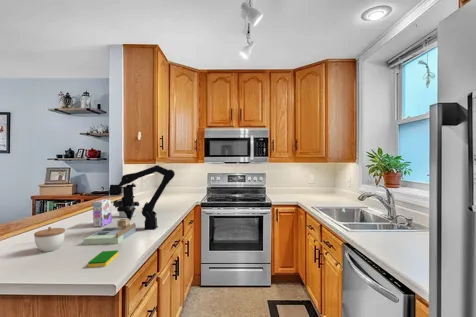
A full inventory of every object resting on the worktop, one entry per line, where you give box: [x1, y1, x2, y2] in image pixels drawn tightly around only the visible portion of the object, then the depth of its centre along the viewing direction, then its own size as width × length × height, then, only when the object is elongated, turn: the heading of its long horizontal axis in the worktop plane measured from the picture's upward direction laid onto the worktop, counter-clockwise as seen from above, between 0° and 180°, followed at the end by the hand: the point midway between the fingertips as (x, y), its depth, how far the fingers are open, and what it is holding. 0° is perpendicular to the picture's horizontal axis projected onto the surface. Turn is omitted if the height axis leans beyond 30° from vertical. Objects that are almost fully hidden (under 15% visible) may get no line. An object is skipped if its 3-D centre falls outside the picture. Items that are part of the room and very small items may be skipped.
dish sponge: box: [87, 249, 119, 268], centre depth 121 cm, size 7×14×2 cm, turn 3°
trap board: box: [83, 222, 137, 246], centre depth 157 cm, size 18×23×5 cm
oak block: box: [116, 218, 131, 230], centre depth 165 cm, size 5×5×5 cm
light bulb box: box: [118, 205, 137, 218], centre depth 216 cm, size 11×7×11 cm, turn 65°
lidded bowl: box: [33, 226, 66, 253], centre depth 140 cm, size 13×13×11 cm
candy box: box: [92, 198, 113, 228], centre depth 191 cm, size 14×6×16 cm, turn 179°
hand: (129, 220), depth 173 cm, fingers closed
